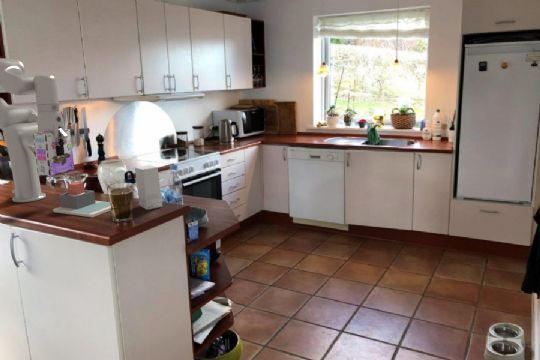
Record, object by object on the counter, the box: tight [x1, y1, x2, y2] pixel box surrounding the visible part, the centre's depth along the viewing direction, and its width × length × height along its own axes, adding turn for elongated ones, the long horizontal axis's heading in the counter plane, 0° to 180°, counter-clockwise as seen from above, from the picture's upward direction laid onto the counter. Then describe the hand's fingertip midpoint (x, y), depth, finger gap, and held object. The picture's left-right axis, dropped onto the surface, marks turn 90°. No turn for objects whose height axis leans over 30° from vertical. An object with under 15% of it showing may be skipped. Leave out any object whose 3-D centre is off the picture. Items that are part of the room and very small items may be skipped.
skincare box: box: [134, 164, 163, 210], centre depth 175 cm, size 8×7×16 cm
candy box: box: [33, 129, 75, 177], centre depth 178 cm, size 14×6×16 cm, turn 163°
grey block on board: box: [52, 189, 112, 218], centre depth 176 cm, size 20×15×6 cm
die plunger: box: [67, 181, 85, 196], centre depth 177 cm, size 6×6×8 cm
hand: (54, 154), depth 178 cm, fingers closed on candy box, 6 cm apart
